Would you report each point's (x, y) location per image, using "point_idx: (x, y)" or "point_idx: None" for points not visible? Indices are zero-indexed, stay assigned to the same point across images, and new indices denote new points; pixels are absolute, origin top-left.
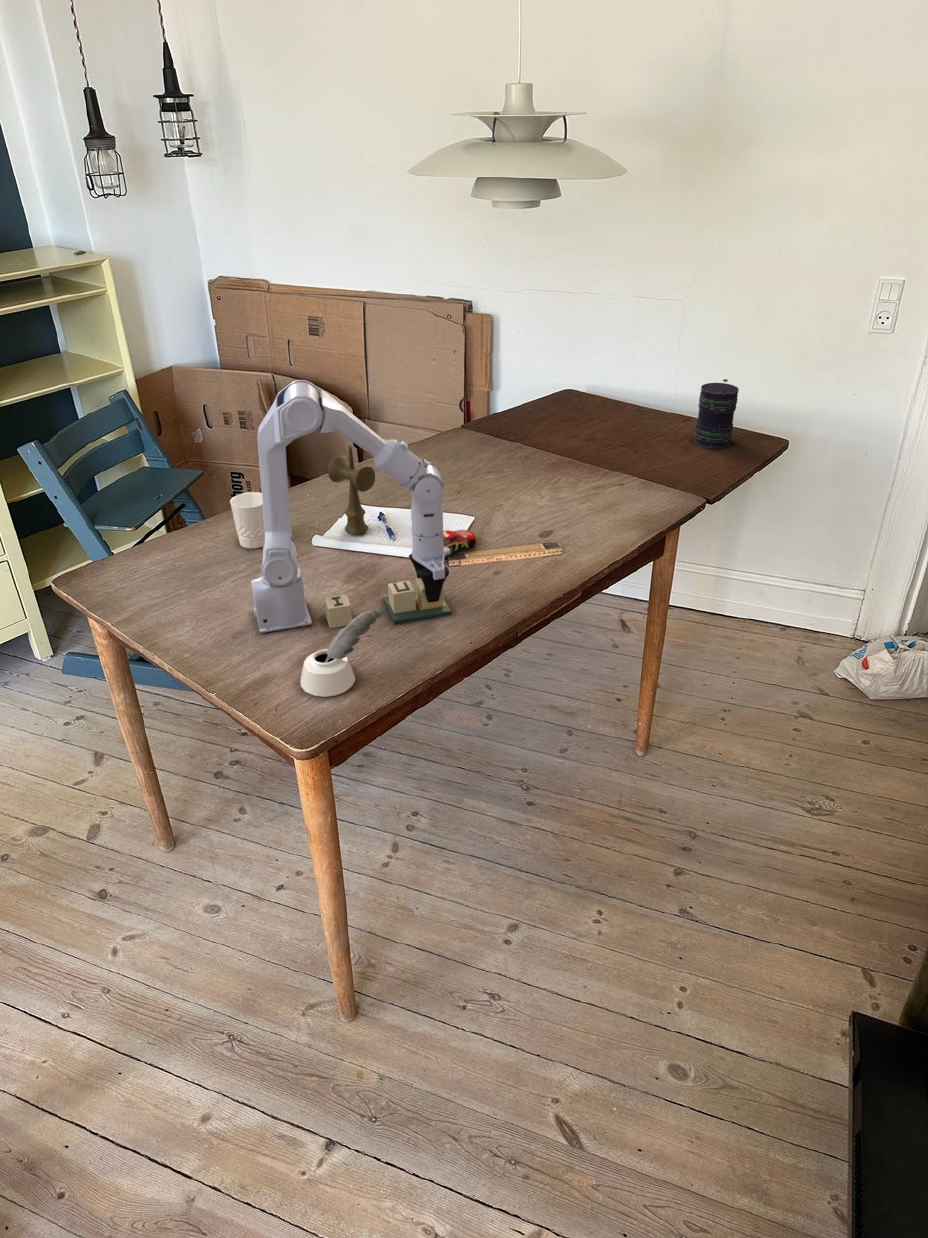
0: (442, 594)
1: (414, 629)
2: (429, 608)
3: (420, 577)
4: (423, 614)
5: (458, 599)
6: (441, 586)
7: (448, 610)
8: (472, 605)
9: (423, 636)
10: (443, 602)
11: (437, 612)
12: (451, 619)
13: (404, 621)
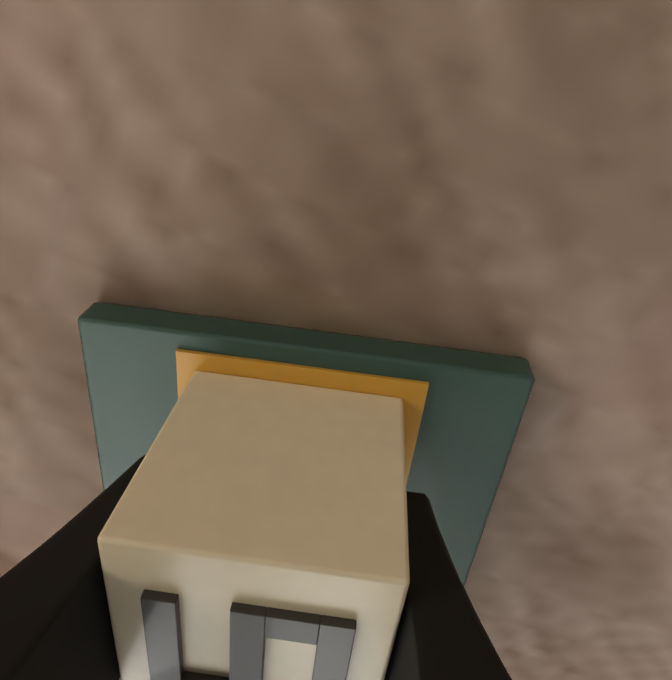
0: (404, 487)
1: (548, 613)
2: None
3: (110, 674)
4: (456, 559)
5: (297, 179)
6: (503, 677)
7: (512, 394)
8: (489, 85)
9: (663, 607)
10: (402, 412)
11: (488, 477)
12: (598, 385)
13: None
